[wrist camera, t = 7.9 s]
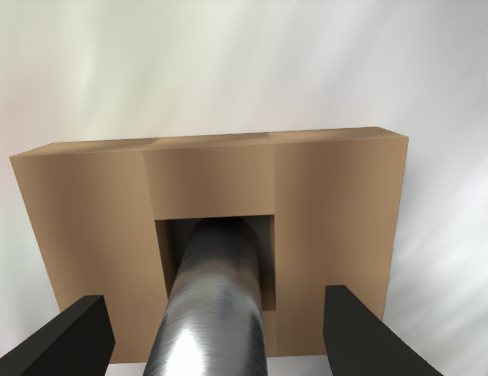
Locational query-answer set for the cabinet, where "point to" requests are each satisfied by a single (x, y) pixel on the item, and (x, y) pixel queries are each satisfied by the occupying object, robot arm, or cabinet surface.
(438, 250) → the cabinet surface
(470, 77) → the cabinet surface
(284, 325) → the socket block
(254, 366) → the dowel bit
